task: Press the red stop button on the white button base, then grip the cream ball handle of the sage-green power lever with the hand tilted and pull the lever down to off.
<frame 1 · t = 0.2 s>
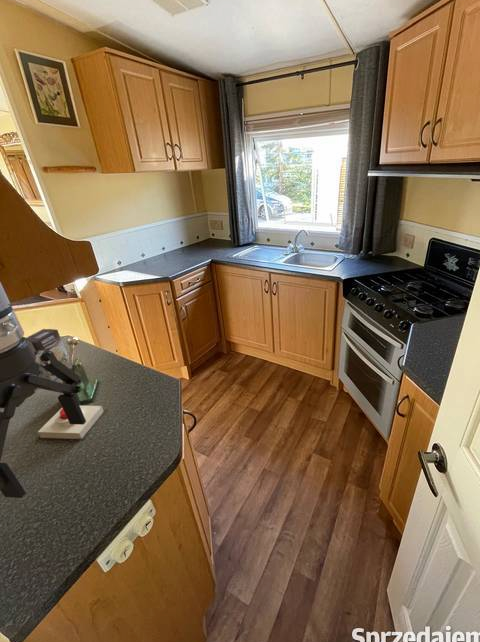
hand: (50, 454, 49), 21 cm above the countertop, tool pointing down, fingers open, 13 cm apart
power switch: (82, 394, 94), on the countertop
power lever: (71, 353, 93), point 13 cm above the countertop, hinge at 25.0°
white button base: (73, 424, 83), on the countertop
coffee box: (56, 373, 106), on the countertop
stop button: (68, 412, 81), point 4 cm above the countertop, slide at 0.1 cm
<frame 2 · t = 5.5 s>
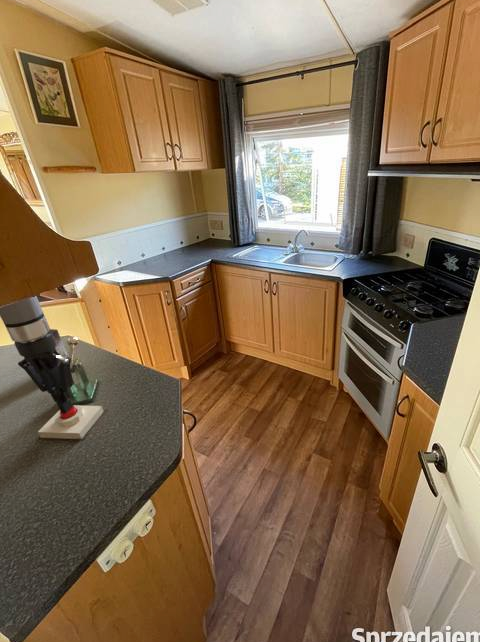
hand: (67, 409, 80), 6 cm above the countertop, tool pointing down, fingers closed
stop button: (68, 412, 81), point 4 cm above the countertop, slide at 0.1 cm, touching gripper
everything else where it was.
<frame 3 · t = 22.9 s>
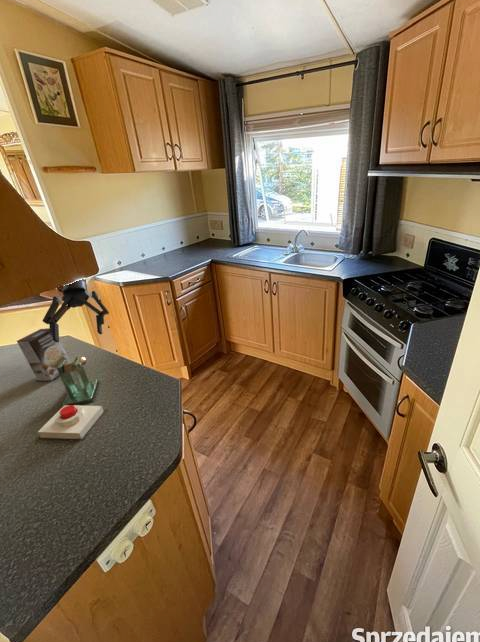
hand: (78, 337, 101), 14 cm above the countertop, tool tilted 45°, fingers open, 13 cm apart
power lever: (76, 363, 94), point 9 cm above the countertop, hinge at -22.3°
stop button: (68, 412, 81), point 4 cm above the countertop, slide at 0.1 cm
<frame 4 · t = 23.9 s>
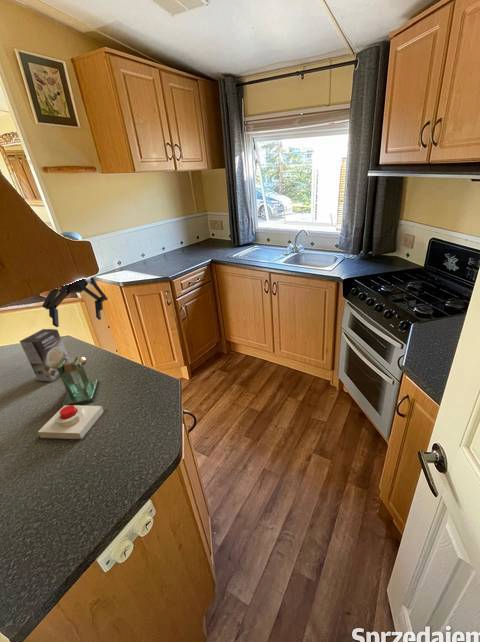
hand: (77, 322, 103), 18 cm above the countertop, tool tilted 45°, fingers open, 13 cm apart
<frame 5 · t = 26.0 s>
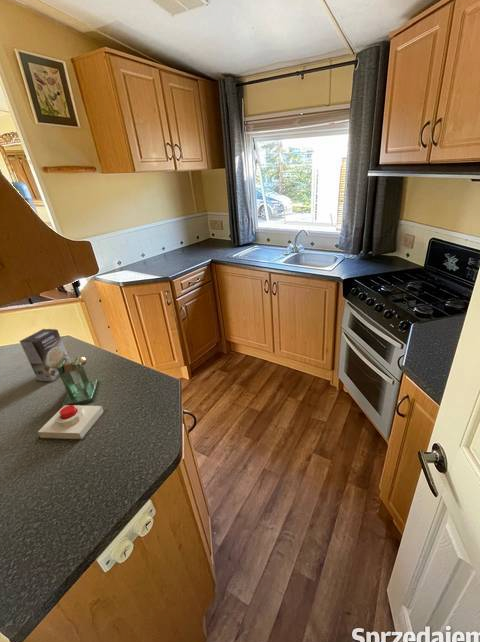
hand: (56, 299, 99), 27 cm above the countertop, tool pointing down, fingers open, 13 cm apart
nothing on the countertop moved.
at the end: stop button pushed in 1.0 cm at the most during the clip, back to where it started at the end; stop button slide at 0.1 cm; power lever at -22° (first picture: +25°) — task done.
